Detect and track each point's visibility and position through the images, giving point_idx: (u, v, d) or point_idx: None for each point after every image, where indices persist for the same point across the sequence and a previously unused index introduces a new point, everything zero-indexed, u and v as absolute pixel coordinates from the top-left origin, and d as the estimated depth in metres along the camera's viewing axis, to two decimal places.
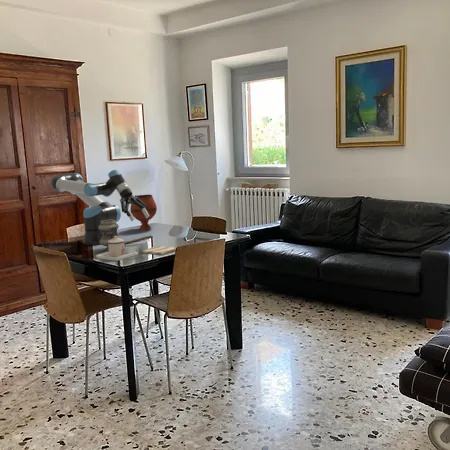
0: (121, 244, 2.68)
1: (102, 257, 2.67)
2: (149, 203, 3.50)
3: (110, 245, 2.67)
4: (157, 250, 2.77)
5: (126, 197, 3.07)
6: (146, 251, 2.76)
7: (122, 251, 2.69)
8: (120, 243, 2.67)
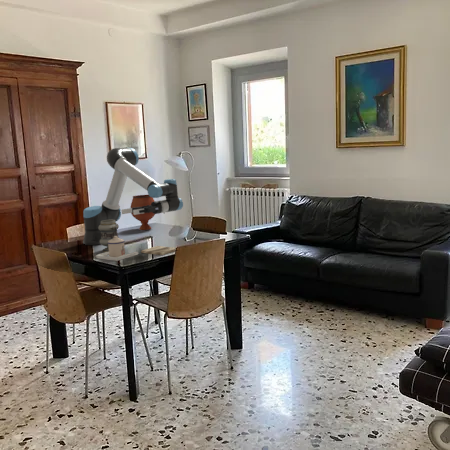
0: (121, 244, 2.68)
1: (102, 257, 2.67)
2: (149, 203, 3.50)
3: (110, 245, 2.67)
4: (157, 250, 2.77)
5: None
6: (146, 251, 2.76)
7: (122, 251, 2.69)
8: (120, 243, 2.67)
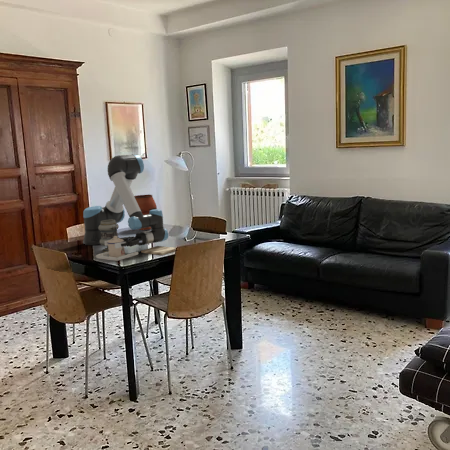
0: None
1: (102, 257, 2.67)
2: (149, 203, 3.50)
3: (110, 245, 2.67)
4: (157, 250, 2.77)
5: None
6: (146, 251, 2.76)
7: (122, 251, 2.69)
8: None
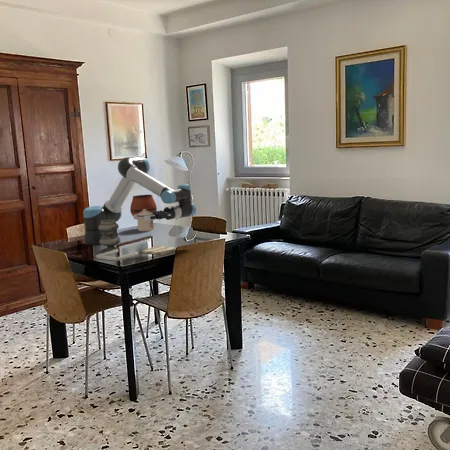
0: None
1: (102, 257, 2.67)
2: (149, 203, 3.50)
3: (139, 218, 2.68)
4: (157, 250, 2.77)
5: None
6: (146, 251, 2.76)
7: (151, 224, 2.70)
8: None
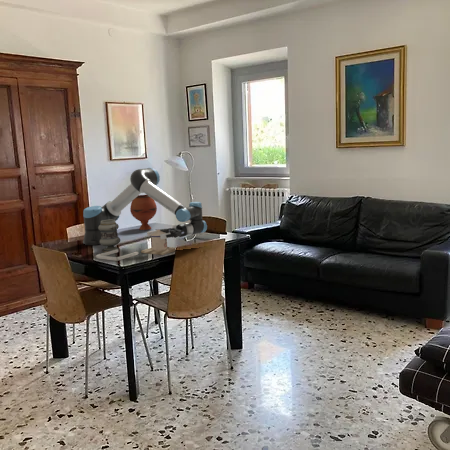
0: None
1: (102, 257, 2.67)
2: (149, 203, 3.50)
3: (153, 238, 2.74)
4: None
5: None
6: (146, 251, 2.76)
7: (165, 244, 2.76)
8: None
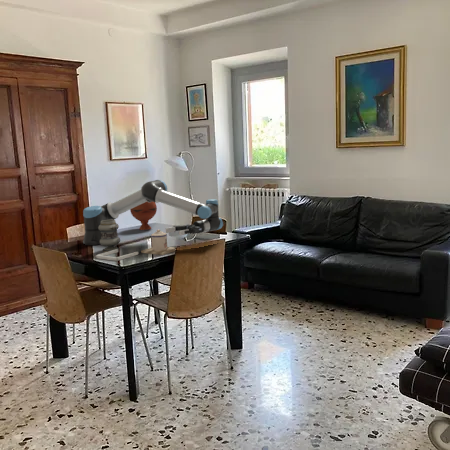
0: (164, 237, 2.75)
1: (102, 257, 2.67)
2: (149, 203, 3.50)
3: (153, 238, 2.74)
4: None
5: None
6: (146, 251, 2.76)
7: (165, 244, 2.76)
8: (163, 236, 2.74)
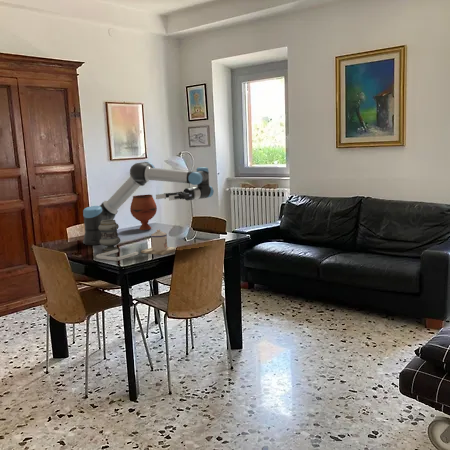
0: (164, 237, 2.75)
1: (102, 257, 2.67)
2: (149, 203, 3.50)
3: (153, 238, 2.74)
4: None
5: None
6: (146, 251, 2.76)
7: (165, 244, 2.76)
8: (163, 236, 2.74)
